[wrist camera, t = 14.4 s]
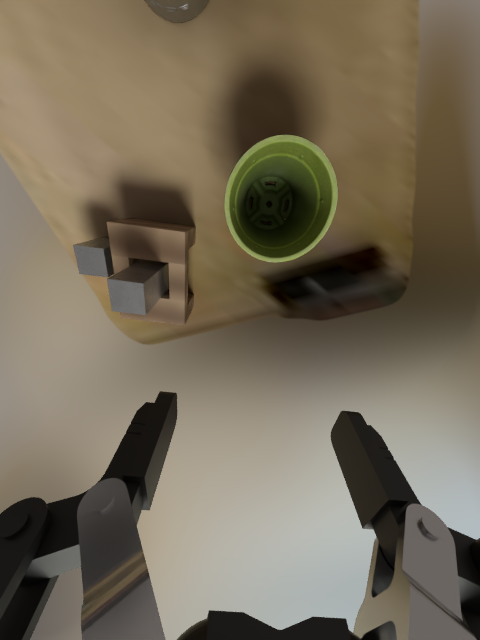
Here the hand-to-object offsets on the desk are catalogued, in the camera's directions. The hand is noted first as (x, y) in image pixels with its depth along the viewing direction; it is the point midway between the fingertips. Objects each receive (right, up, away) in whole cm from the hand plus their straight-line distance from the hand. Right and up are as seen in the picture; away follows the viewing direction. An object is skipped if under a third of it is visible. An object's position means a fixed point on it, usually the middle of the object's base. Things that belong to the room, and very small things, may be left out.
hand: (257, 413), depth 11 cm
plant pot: (+4, +22, +23) cm, 32 cm away
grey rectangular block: (-21, +16, +26) cm, 37 cm away
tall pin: (-14, +14, +27) cm, 33 cm away
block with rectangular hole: (-14, +14, +27) cm, 33 cm away
